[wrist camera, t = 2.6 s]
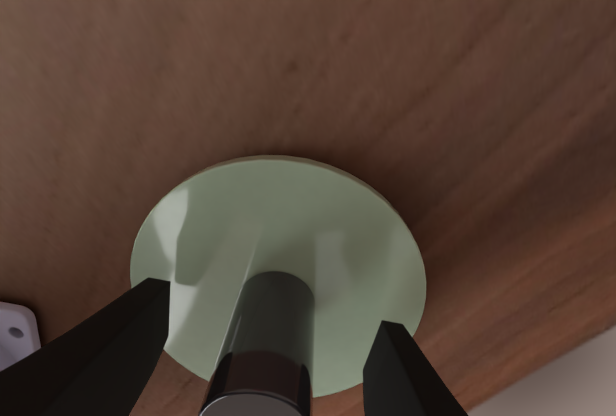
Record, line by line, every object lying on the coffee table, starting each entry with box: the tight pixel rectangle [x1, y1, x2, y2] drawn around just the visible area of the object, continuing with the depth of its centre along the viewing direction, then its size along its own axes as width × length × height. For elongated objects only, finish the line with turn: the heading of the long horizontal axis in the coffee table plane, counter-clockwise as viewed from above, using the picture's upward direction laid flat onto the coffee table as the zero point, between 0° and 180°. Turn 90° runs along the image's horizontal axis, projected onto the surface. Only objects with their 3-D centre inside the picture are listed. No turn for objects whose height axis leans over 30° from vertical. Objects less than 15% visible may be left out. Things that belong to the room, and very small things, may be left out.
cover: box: [130, 155, 426, 416], centre depth 9 cm, size 9×9×5 cm
